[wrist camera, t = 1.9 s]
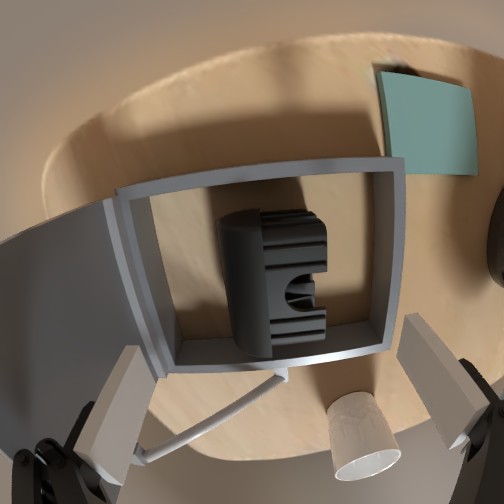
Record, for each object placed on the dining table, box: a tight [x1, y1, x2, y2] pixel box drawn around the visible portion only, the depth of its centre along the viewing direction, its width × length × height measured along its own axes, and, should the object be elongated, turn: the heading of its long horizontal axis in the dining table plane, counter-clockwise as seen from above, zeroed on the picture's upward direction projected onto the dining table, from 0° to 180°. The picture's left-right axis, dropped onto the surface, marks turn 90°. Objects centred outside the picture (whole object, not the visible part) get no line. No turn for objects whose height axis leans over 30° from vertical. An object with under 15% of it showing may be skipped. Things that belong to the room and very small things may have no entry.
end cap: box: [216, 208, 327, 358], centre depth 21 cm, size 10×7×7 cm
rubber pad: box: [376, 71, 478, 175], centre depth 19 cm, size 11×9×1 cm
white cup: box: [327, 392, 401, 481], centre depth 26 cm, size 8×8×10 cm
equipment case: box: [0, 156, 406, 504], centre depth 15 cm, size 23×19×21 cm
